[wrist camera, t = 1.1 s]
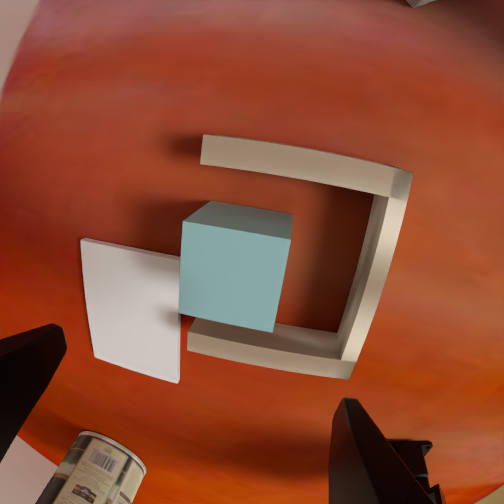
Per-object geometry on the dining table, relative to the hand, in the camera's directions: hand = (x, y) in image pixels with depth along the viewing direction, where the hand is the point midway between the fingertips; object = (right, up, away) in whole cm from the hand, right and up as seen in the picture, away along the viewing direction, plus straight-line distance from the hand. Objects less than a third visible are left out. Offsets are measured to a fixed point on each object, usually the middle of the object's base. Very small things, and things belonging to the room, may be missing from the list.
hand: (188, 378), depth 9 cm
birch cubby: (+4, +4, +11) cm, 12 cm away
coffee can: (-16, -23, +24) cm, 37 cm away
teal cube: (+2, +4, +11) cm, 12 cm away
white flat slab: (-7, -1, +14) cm, 16 cm away
